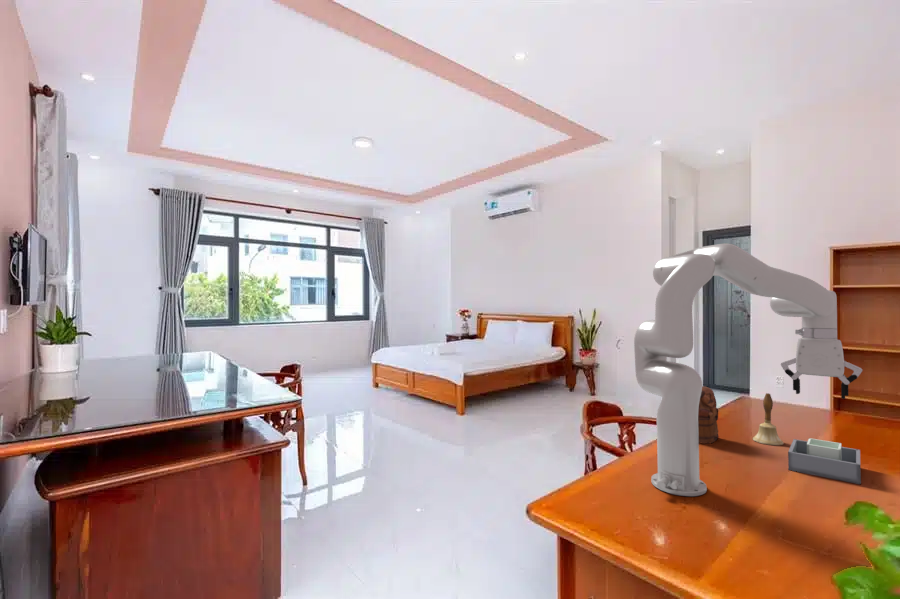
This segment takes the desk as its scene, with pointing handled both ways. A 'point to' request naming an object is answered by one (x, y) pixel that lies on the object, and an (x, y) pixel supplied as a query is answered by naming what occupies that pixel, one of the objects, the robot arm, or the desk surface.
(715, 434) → the wooden figurine
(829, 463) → the box
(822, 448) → the small crate
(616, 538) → the desk surface
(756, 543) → the desk surface
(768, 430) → the hand bell
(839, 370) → the robot arm
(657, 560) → the desk surface
